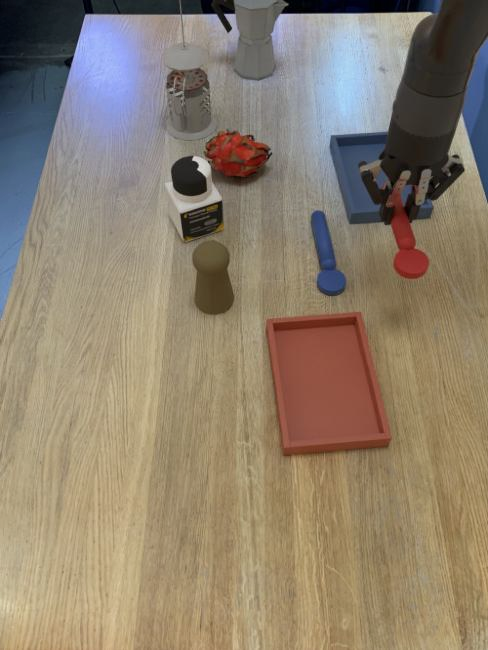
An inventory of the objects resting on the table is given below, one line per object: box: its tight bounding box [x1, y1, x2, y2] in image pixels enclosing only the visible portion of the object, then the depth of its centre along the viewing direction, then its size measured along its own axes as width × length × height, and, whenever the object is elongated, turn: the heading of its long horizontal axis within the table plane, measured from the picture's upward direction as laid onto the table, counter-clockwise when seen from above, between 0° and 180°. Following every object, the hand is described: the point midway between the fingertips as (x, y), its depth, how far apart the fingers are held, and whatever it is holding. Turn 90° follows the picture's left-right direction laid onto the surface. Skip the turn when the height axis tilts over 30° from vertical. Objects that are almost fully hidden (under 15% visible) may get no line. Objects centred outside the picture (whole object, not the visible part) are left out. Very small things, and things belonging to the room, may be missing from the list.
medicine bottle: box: [164, 155, 225, 243], centre depth 95 cm, size 7×7×12 cm
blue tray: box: [328, 131, 435, 225], centre depth 104 cm, size 14×20×2 cm
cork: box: [191, 239, 235, 316], centre depth 86 cm, size 6×6×11 cm
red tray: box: [265, 311, 393, 456], centre depth 81 cm, size 14×20×2 cm
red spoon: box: [381, 183, 430, 280], centre depth 81 cm, size 16×4×2 cm, turn 5°
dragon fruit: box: [202, 127, 273, 182], centre depth 104 cm, size 8×8×12 cm
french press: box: [161, 0, 218, 141], centre depth 103 cm, size 10×12×25 cm
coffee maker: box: [211, 0, 289, 81], centre depth 117 cm, size 15×9×18 cm, turn 77°
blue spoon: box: [310, 209, 347, 296], centre depth 94 cm, size 16×4×2 cm, turn 5°
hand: (396, 219), depth 83 cm, fingers closed on red spoon, 2 cm apart
